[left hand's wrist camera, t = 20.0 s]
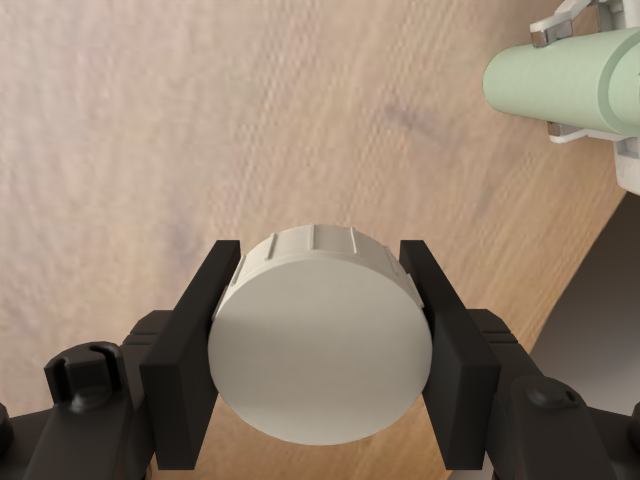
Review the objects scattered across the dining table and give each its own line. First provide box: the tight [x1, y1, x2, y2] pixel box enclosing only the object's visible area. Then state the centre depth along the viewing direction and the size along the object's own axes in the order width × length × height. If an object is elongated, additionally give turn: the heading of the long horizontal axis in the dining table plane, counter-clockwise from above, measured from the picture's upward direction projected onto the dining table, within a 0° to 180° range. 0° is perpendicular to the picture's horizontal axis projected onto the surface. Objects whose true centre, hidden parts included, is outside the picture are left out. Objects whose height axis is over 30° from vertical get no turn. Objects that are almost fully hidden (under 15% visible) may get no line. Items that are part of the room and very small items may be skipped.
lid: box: [208, 223, 433, 445], centre depth 11 cm, size 6×6×2 cm
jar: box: [483, 26, 640, 137], centre depth 26 cm, size 5×5×17 cm
